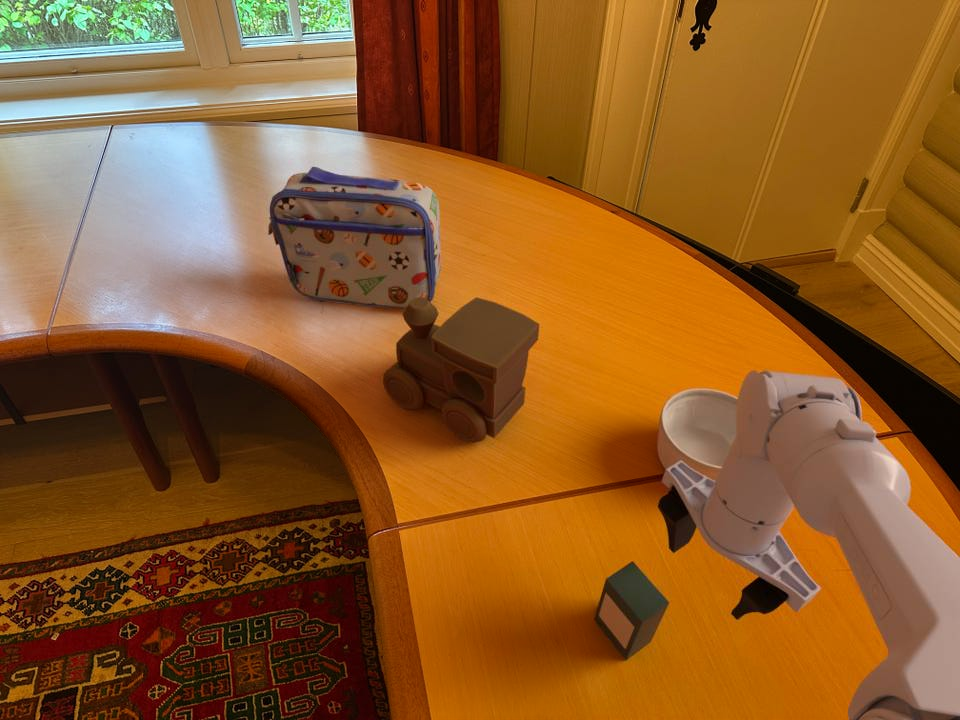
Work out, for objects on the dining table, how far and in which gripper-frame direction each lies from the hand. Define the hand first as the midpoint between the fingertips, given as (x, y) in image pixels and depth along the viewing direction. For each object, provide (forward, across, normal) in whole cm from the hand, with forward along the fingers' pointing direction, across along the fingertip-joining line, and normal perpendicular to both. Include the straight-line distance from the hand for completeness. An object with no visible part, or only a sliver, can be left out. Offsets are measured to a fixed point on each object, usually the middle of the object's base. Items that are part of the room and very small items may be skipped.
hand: (708, 577), depth 57 cm
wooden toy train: (+11, +40, +4) cm, 42 cm away
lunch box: (+11, +71, +4) cm, 72 cm away
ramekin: (+11, +14, -18) cm, 25 cm away
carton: (+6, +3, +4) cm, 8 cm away
